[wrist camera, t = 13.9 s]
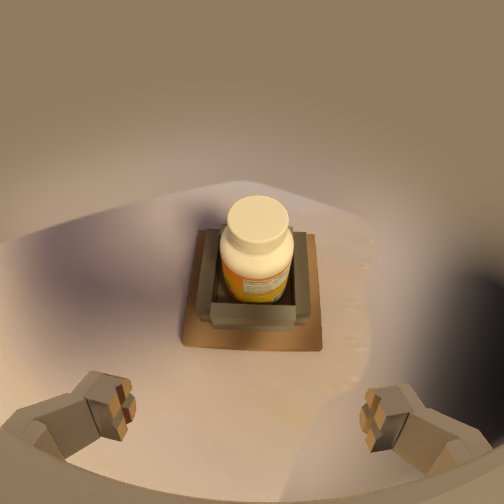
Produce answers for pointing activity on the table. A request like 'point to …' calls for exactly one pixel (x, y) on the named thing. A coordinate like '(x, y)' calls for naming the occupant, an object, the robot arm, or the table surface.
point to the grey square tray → (249, 315)
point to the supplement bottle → (256, 251)
